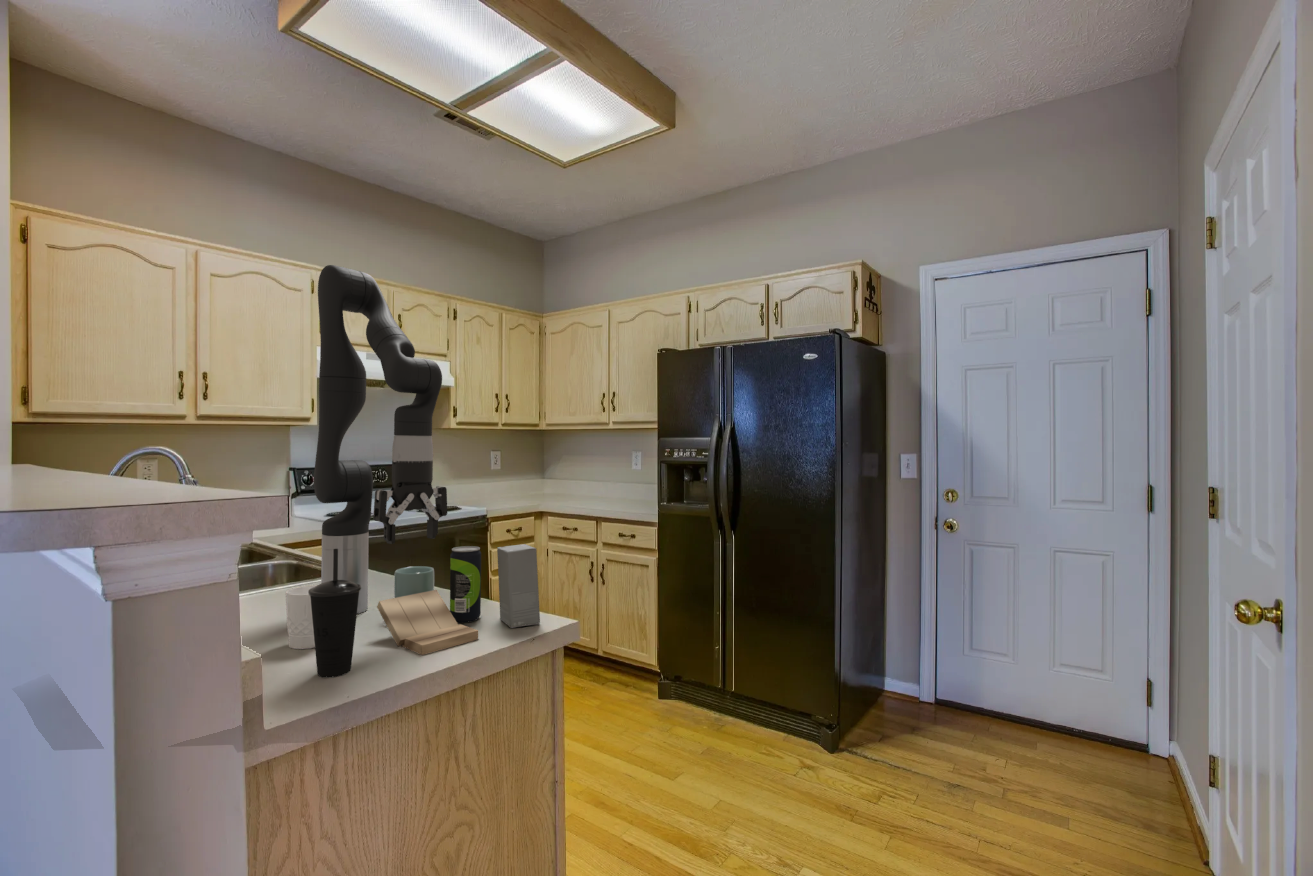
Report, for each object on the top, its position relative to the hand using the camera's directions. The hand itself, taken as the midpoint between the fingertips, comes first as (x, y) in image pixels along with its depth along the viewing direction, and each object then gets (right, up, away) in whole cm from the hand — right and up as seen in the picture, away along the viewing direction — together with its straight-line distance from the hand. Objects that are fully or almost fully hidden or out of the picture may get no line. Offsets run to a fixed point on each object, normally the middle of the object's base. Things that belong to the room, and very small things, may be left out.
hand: (411, 540), depth 121 cm
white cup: (-16, -18, -8) cm, 25 cm away
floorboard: (+9, -18, -7) cm, 21 cm away
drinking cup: (-4, -18, -22) cm, 28 cm away
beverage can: (+8, -18, +9) cm, 22 cm away
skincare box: (+19, -18, +7) cm, 28 cm away
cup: (-4, -18, +11) cm, 21 cm away
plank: (+2, -15, -2) cm, 15 cm away
